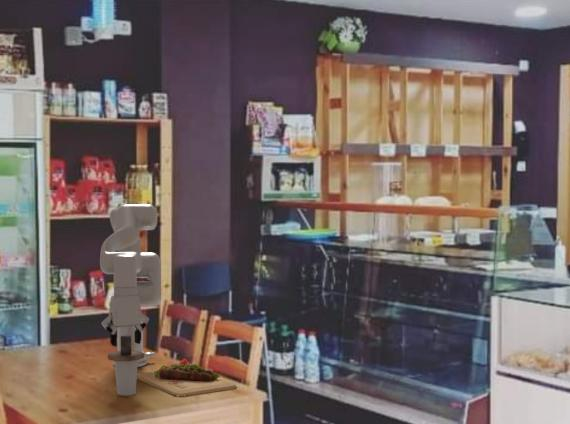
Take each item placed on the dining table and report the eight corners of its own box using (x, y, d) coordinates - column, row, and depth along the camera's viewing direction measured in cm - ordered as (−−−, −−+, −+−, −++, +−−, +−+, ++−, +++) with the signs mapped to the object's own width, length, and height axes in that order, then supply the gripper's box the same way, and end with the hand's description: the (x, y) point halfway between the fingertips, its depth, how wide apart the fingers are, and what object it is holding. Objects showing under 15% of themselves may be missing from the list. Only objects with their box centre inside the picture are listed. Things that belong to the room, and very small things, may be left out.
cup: (142, 391, 309) (142, 355, 308) (131, 396, 302) (130, 360, 301) (121, 389, 312) (121, 354, 311) (109, 394, 304) (109, 359, 304)
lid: (135, 352, 314) (135, 331, 314) (150, 358, 304) (149, 337, 304) (102, 356, 308) (102, 335, 308) (115, 362, 298) (115, 341, 297)
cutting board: (133, 378, 330) (133, 357, 330) (191, 370, 343) (191, 350, 342) (177, 399, 301) (177, 376, 300) (239, 389, 314) (239, 367, 313)
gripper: (145, 288, 313) (145, 340, 314) (96, 292, 303) (96, 345, 304) (154, 291, 306) (154, 343, 307) (104, 295, 297) (105, 349, 298)
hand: (125, 344), depth 306 cm, fingers open, 7 cm apart
